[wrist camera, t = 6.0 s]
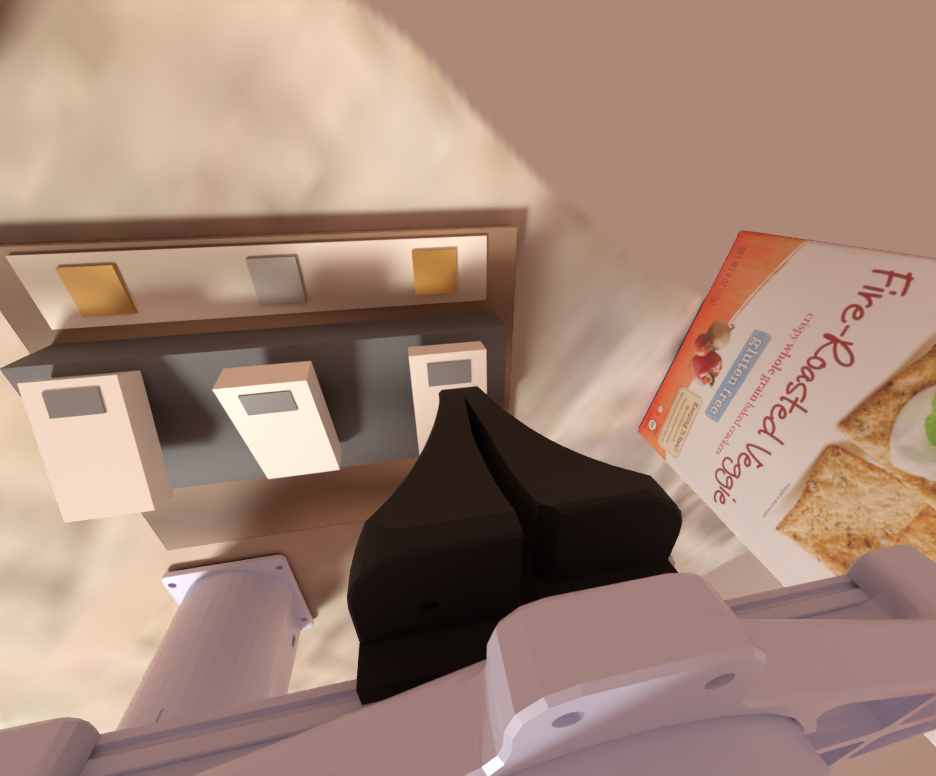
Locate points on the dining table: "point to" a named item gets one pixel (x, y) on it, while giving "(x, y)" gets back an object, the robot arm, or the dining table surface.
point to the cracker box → (809, 403)
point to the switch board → (265, 350)
